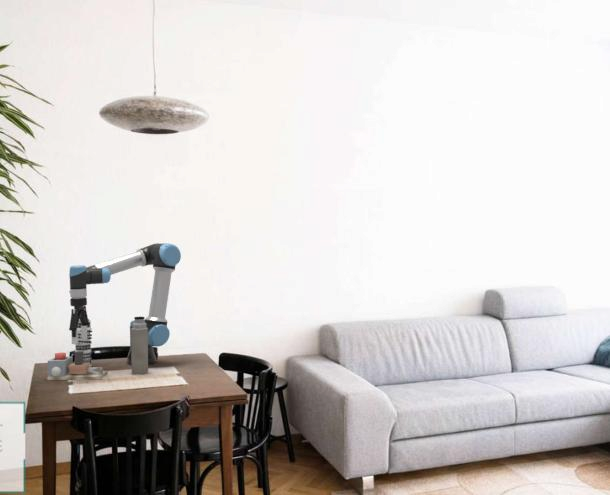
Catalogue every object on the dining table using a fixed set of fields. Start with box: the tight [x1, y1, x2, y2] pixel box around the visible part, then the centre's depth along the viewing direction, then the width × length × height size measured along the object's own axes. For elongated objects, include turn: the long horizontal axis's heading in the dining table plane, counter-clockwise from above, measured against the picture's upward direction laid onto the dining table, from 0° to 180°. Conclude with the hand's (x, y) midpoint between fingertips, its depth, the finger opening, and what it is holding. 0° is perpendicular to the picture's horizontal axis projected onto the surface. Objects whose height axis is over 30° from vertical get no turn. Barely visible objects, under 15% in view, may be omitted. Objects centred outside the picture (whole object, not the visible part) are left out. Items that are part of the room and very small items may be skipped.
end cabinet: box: [47, 356, 74, 377], centre depth 314 cm, size 8×11×9 cm
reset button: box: [54, 352, 67, 360], centre depth 314 cm, size 5×5×3 cm
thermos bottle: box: [130, 316, 149, 375], centre depth 323 cm, size 8×8×28 cm
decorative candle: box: [73, 318, 93, 367], centre depth 341 cm, size 9×9×25 cm
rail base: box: [46, 366, 109, 381], centre depth 314 cm, size 25×12×4 cm, turn 90°
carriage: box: [68, 351, 91, 374], centre depth 314 cm, size 8×7×10 cm
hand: (79, 341), depth 314 cm, fingers open, 13 cm apart
